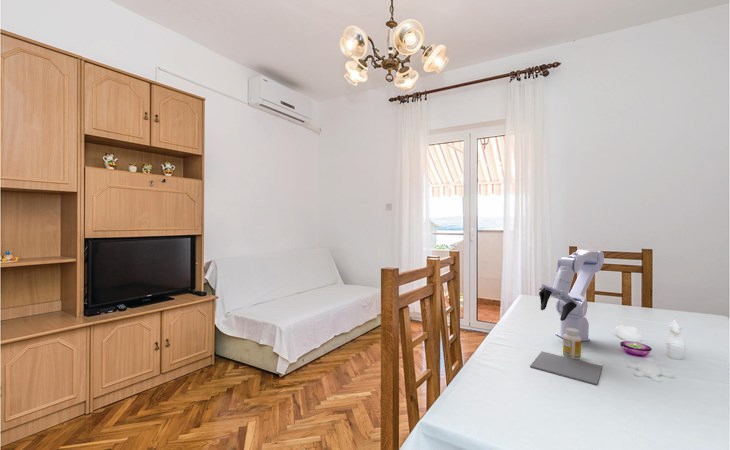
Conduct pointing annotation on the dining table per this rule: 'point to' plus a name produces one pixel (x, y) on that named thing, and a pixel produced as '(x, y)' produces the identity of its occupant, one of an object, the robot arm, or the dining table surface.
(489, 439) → the dining table surface
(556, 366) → the slate mat
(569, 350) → the supplement bottle
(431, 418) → the dining table surface
